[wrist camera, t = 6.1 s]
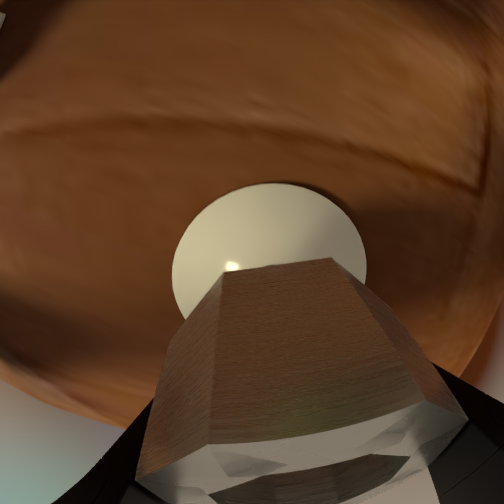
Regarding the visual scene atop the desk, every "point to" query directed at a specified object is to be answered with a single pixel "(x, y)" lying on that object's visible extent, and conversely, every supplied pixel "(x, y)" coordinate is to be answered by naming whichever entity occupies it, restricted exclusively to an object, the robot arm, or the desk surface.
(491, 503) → the robot arm
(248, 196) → the hub post
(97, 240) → the desk surface
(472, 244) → the desk surface
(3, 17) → the medicine bottle
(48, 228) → the desk surface
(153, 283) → the desk surface
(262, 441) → the ring
